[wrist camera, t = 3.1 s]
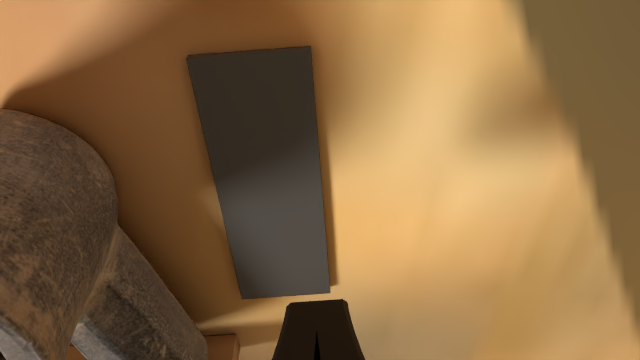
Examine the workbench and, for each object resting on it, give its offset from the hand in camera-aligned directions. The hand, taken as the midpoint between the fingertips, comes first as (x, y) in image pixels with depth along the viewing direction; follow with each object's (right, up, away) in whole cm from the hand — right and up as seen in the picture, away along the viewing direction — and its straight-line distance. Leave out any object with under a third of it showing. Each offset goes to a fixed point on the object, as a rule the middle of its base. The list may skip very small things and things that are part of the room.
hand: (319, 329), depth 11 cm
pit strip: (-2, +3, +5) cm, 6 cm away
